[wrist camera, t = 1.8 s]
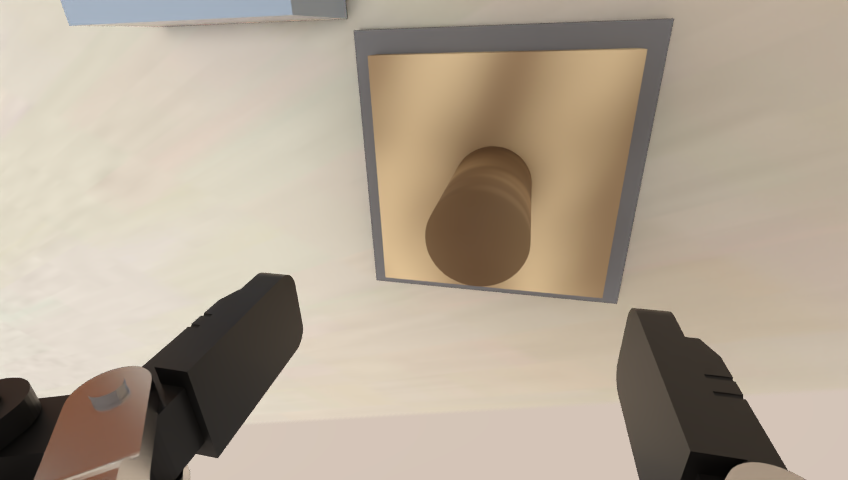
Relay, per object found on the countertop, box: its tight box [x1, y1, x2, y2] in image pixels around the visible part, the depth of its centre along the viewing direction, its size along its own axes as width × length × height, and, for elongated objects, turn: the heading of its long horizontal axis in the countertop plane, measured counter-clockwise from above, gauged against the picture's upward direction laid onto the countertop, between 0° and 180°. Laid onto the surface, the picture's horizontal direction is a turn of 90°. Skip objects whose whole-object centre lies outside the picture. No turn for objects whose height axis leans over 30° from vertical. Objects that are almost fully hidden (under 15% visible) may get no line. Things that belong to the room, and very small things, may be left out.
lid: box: [368, 48, 647, 298], centre depth 17 cm, size 11×11×7 cm
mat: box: [354, 19, 674, 304], centre depth 21 cm, size 13×13×1 cm
